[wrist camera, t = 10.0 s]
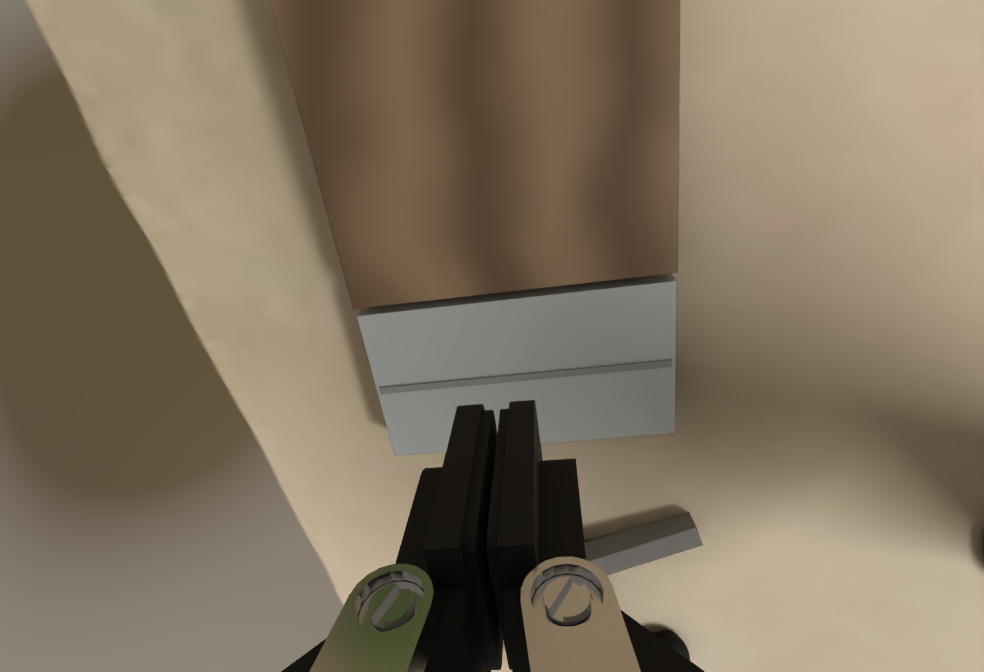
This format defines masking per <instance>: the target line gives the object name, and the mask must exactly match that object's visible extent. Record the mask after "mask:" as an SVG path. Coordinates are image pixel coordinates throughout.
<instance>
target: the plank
mask: <svg viewBox="0 0 984 672" xmlns="http://www.w3.org/2000/svg"><path fill="white" fill-rule="evenodd" d="M269 1H270V5H271V8H272V12H273V16H274V19H275V23H276V27H277V30H278V34H279V38H280V41H281V45H282V49H283V52H284V56H285V60H286V63H287V67H288V71H289V74H290V78H291V82H292V85H293V89H294V93H295V96H296V100H297V104H298V107H299V111H300V115H301V119H302V122H303V126H304V130H305V133H306V137H307V141H308V144H309V148H310V152H311V155H312V159H313V163H314V166H315V170H316V174H317V177H318V181H319V185H320V188H321V192H322V196H323V199H324V203H325V207H326V210H327V214H328V218H329V221H330V225H331V229H332V232H333V236H334V240H335V243H336V247H337V251H338V254H339V258H340V262H341V265H342V269H343V273H344V276H345V280H346V284H347V288H348V291H349V295H350V299H351V302H352V306H353V309H358V308H367V307H376V306H385V305H393V304H402V303H411V302H420V301H429V300H438V299H447V298H456V297H465V296H474V295H483V294H492V293H501V292H510V291H518V290H527V289H536V288H545V287H554V286H563V285H572V284H581V283H590V282H599V281H608V280H617V279H626V278H635V277H644V276H652V275H661V274H670V273H677V272H678V173H679V74H680V0H269Z"/></svg>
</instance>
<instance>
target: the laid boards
mask: <svg viewBox="0 0 984 672" xmlns="http://www.w3.org/2000/svg"><path fill="white" fill-rule="evenodd" d="M357 319H358V322H359V326H360V330H361V334H362V337H363V341H364V345H365V348H366V352H367V356H368V359H369V363H370V367H371V371H372V374H373V378H374V382H375V385H376V389H377V393H378V396H379V400H380V404H381V408H382V411H383V415H384V419H385V422H386V426H387V430H388V434H389V437H390V441H391V445H392V448H393V452H394V456H401V455H413V454H425V453H437V452H446V451H447V447H448V442H449V438H450V434H451V430H452V426H453V421H454V417H455V413H456V409H457V406H462V405H475V404H483V405H484V408H485V410H493V411H494V415H495V421H496V428H497V433H498V424H499V414H500V409H509V402H513V401H526V400H535V404H536V411H537V419H538V427H539V436H540V444H547V443H559V442H571V441H583V440H595V439H607V438H620V437H632V436H644V435H656V434H668V433H675V375H676V280H675V279H674V277H673V276H672V274H671V273H670V274H661V275H652V276H644V277H635V278H626V279H617V280H608V281H599V282H590V283H581V284H572V285H563V286H554V287H545V288H536V289H527V290H518V291H510V292H501V293H492V294H483V295H474V296H465V297H456V298H447V299H438V300H429V301H420V302H411V303H402V304H393V305H385V306H376V307H367V308H362V309H361V311H360V312H359V314H358V315H357Z"/></svg>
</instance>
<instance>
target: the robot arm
mask: <svg viewBox="0 0 984 672" xmlns="http://www.w3.org/2000/svg"><path fill="white" fill-rule="evenodd" d="M503 640H504V645H505V650H506V655H507V660H508V665H509V669H510V670H512V671H513V672H704V671H703V670H702V669H700V668H699V667H698V666H696V665H695V664H693V663H692V662H691V661H689V660H688V659H687V658H685V657H684V656H683V655H681V654H680V653H678V652H677V651H676V650H674V649H673V648H672V647H670V646H669V645H668V644H666V643H665V642H664V641H662V640H661V639H659V638H658V637H657V636H655V635H654V634H653V633H651V632H650V631H649V630H647V629H646V628H644V627H643V626H642V625H640V624H639V623H638V622H636V621H635V620H634V619H632V618H631V617H630V616H628V615H627V614H625V613H624V612H623V611H621V610H620V607H619V604H618V601H617V598H616V595H615V592H614V589H613V586H612V584H611V582H610V580H609V579H608V577H607V575H606V574H605V573H604V572H603V571H602V570H601V569H600V568H599V567H598V566H597V565H595V564H593V563H591V562H589V561H587V560H586V554H585V545H584V535H583V525H582V516H581V506H580V497H579V487H578V478H577V468H576V459H562V460H547V461H543V460H542V452H541V444H540V436H539V427H538V419H537V411H536V404H535V400H526V401H513V402H509V409H500V414H499V424H498V433H497V428H496V421H495V415H494V411H493V410H485V408H484V405H483V404H475V405H462V406H457V409H456V413H455V417H454V421H453V426H452V430H451V434H450V438H449V442H448V447H447V451H446V455H445V459H444V464H443V467H439V468H425V469H424V470H423V471H422V474H421V476H420V480H419V483H418V487H417V490H416V494H415V497H414V501H413V504H412V508H411V511H410V515H409V518H408V522H407V525H406V529H405V532H404V536H403V539H402V543H401V546H400V550H399V553H398V557H397V560H396V564H392V565H388V566H385V567H382V568H379V569H377V570H375V571H374V572H372V573H370V574H368V575H367V576H366V577H365V578H363V579H362V580H361V581H360V582H359V583H358V584H357V585H356V586H355V588H354V589H353V591H352V592H351V593H350V595H349V597H348V599H347V601H346V602H345V604H344V606H343V608H342V610H341V612H340V614H339V616H338V618H337V620H336V622H335V624H334V626H333V627H332V629H331V631H330V633H329V635H328V637H327V638H326V639H325V640H324V641H322V642H321V643H320V644H318V645H317V646H315V647H314V648H313V649H311V650H310V651H309V652H308V653H306V654H305V655H303V656H302V657H301V658H300V659H298V660H296V661H295V662H294V663H292V664H291V665H290V666H288V667H287V668H286V669H284V670H283V671H282V672H491V670H500V669H501V666H502V653H503Z"/></svg>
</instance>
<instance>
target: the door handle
mask: <svg viewBox="0 0 984 672" xmlns="http://www.w3.org/2000/svg"><path fill="white" fill-rule="evenodd" d="M584 545H585V554H586V560H587V561H589V562H591V563H593V564H595V565H597V566H598V567H599V568H600V569H601V570H602V571H603V572H604V573H605V574H606V575H609V574H612V573H615V572H618V571H622V570H625V569H628V568H631V567H634V566H638V565H641V564H644V563H647V562H650V561H654V560H657V559H660V558H663V557H666V556H669V555H673V554H676V553H679V552H682V551H685V550H689V549H692V548H695V547H698V546H701V545H703V544H702V542H701V539H700V536H699V534H698V531H697V528H696V526H695V524H694V522H693V520H692V517H691V515H690V513H689V512H688V513H685V514H681V515H677V516H674V517H670V518H667V519H663V520H659V521H656V522H652V523H648V524H645V525H641V526H637V527H634V528H630V529H626V530H623V531H619V532H615V533H612V534H609V535H605V536H602V537H599V538H596V539H593V540H590V541H587V542H584ZM655 636H657V637H658V638H659V639H661V640H662V641H664V642H665V643H666V644H668V645H669V646H670V647H672V648H673V649H674V650H676V651H677V652H678V653H680V654H681V655H683V656H684V657H685V658H687V659H688V660H689V661H690V657H689V652H688V649H687V647H686V645H685V643H684V642H683V640H682V639H681V638H680V637H679V636H677V635H676V634H674V633H672V632H662V633H659V634H655Z"/></svg>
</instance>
